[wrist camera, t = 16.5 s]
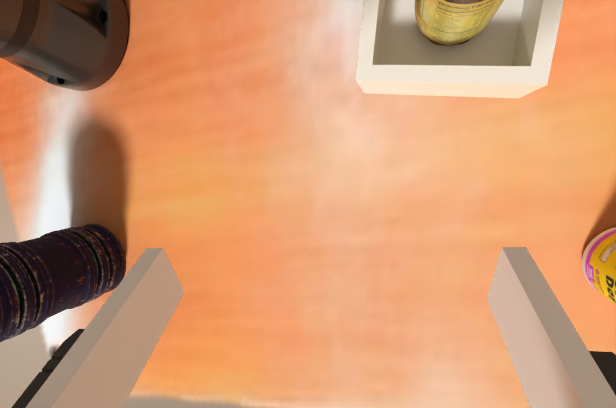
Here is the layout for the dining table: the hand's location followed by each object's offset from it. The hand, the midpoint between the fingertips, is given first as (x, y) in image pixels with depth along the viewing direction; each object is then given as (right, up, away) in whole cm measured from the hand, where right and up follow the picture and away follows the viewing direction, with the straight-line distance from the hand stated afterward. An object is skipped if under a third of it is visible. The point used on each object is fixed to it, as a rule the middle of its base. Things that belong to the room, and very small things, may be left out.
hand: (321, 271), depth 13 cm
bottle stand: (+12, +19, +16) cm, 28 cm away
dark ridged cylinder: (-30, -5, +32) cm, 44 cm away
